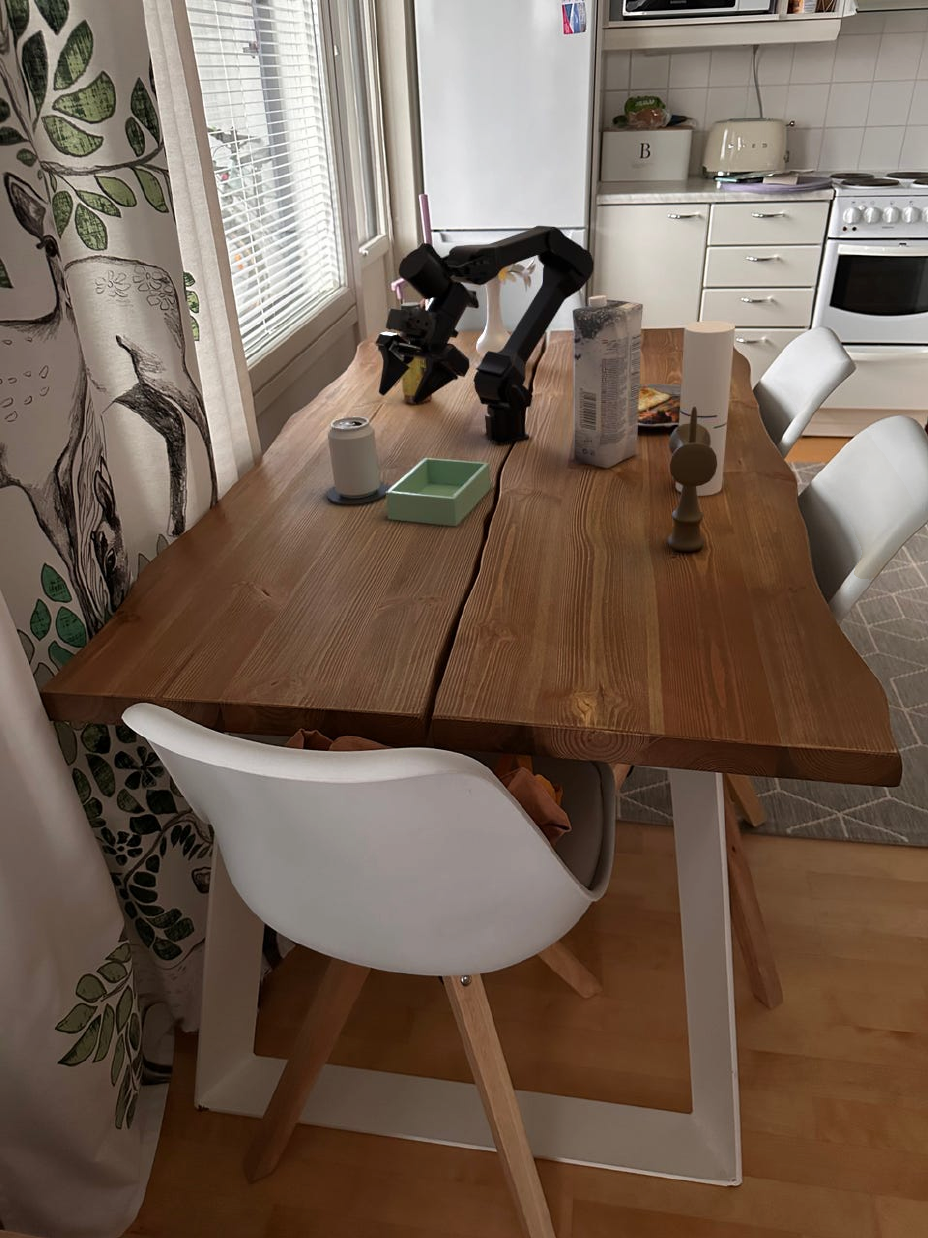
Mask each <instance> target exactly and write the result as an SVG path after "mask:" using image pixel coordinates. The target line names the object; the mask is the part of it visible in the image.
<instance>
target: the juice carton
mask: <svg viewBox="0 0 928 1238" xmlns="http://www.w3.org/2000/svg"><path fill="white" fill-rule="evenodd" d="M643 310H644V304H643V303H638V302H632V301H625V300H615V299H607V295H604V294H603V295H602V294H601V295H594V296H590V297H588V306H584V307H578V308H574V309H572V323H573V456H574V457H573V458H574V460H575V461H576V462H579V463H582V464H583V463H584V464H587V465H592V466H595V467H600V468H603V469H609V468H612V467H613V466H615V465H617V464H618V463H621V462H622V461H625V460H627V459H629V458H631V457H633V456H635V454H636V453H637V445H638V430H639V429H638V427H639V426H638V406H639V385H640V380H641V379H640V377H641V375H640V374H641V349H642V321H643Z"/></svg>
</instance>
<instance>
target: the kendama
mask: <svg viewBox="0 0 928 1238" xmlns="http://www.w3.org/2000/svg"><path fill="white" fill-rule="evenodd" d="M710 444H711V441H710V434H709V432H708V431H707V429H706V428H705V427H703V426H701V425H700V424H697V409H696V407H695V406H694V407H693V408H692V412H691V418H690V423H688V424H682V425H681V426H677V427H675V429H673V431H672V433H671V434H670V436H669V441H668V445H669V446H668V447H669V452H670V453H671V457H670V460H669V472H670V475H671V477H672V478H673V480H674V482H675V483H676V482H678V483H679V484H681V485H683V487H682V491H681V492H680V497H679V500H678V503H677V506H676V508H675V509H674V510H673V511H672V512H671V519H672V520H673V529H672V533H671V534H669V536H668V537H667V544H668V546H669V547H670V548H671V549H673V550H676V551H679V552H694V551H699V550H700V549H701V548H703V547H705V546H704V545H705V539H704V538H703V536H702V534H701V522H702V521H703V520H704V514H703V512H702V510H700V506H699V501H698V496H697V490H696V486H701V485H703V484H705V483H707V482H709V481H710V480H711V479H712V477H713V476H714V475H715V472H716V468H717V457H716V454H715V452H714V451H713V449H712V448H711V447H710Z"/></svg>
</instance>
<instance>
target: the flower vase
mask: <svg viewBox="0 0 928 1238" xmlns="http://www.w3.org/2000/svg"><path fill="white" fill-rule="evenodd" d="M535 259H536V257H533V259H532V260H531V261H530V263H529V264H528V265H527V266H526V267H525V266H524V265H522V264H521V263H520V264H519V263H515V264H512V265H510V266H507V267H505V268H503V269H502V270H500V272H499V274H498V275H497V276H496V277H495V278H493V279H492V280H490V281H489V282H487V283H486V284H484V285H485V290H486V303H487V307H486V308H487V309H486V310H487V315H486V316H487V317H486V325H485V328H484V330H483V333H482V334H481V335H479V336H480V337H479V338H478V339H477V341H476V346H475V349H476V352H477V354H478V355H479V356H480V357H482V358H484V356H485V354H486V353H487V352H488V351H491V352H496V353H497V352H499V351H501V350H502V349H503V348H504V346H505V344H506V343H507V341H508V340H509V338H510V336H511V334H510V333H509V332H507V330H506V328H505V326H504V324H503V323H504V322H503V319H502V309H501V287H502V286H505V284H507V280H509V281H510V282H513V283H516V282H517V278H516V276H518V277H519V278H521V279H522V281H523V285H524V290H525V293H527V291H528V288H529V289H530V288H531V286H532V278H531V276H530V275H532V274H533V273H534V271H535V269H536V265H537V264H536V263H534V262H535ZM514 274H515V275H516V276H515V275H514ZM481 286H482V285H474V287H475V288H476V289H479V288H480V287H481Z"/></svg>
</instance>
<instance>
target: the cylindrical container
mask: <svg viewBox="0 0 928 1238" xmlns="http://www.w3.org/2000/svg"><path fill="white" fill-rule="evenodd" d="M683 330H684V332H683V349H682V365H681V366H682V367H681V369H682V370H681V383H680V385H681V399H680V417H679V426H681V425H682V424H688V423H690V418H691V412H692V408H693V407H694V406H695V407H696V409H697V424H700V425H701V426H703V427H705V428H706V429H707V431H708V432H709V434H710V441H711V444H710V447H711V448H712V449H713V451H714V452H715V454H716V457H717V468H716V472H715V475H714V476H713V477H712V479H711V480H710V481H709V482H707V483H705V484H703V485H701V486H696V490H697V497H704V496H711V495H714V494H717V493H719V492H720V491H722V488H723V478H724V475H723V474H724V466H725V465H724V464H725V452H726V442H727V441H726V440H727V427H728V415H729V403H730V393H731V392H730V391H731V381H732V380H731V379H732V369H733V368H732V367H733V357H734V356H733V354H734V344H735V343H734V342H735V332H736V331H735V330H736V326H735V325H734V324H733V323H731V322H726V321H718V320H704V321H696V322H695V321H694V322H689V323H687V324H686V325H685V326H684V329H683ZM679 426H678V427H679ZM682 487H683V485H681V484H679V483H678V482H676V481H675V489H676V490H677V491H678V492H679V493H681V491H682Z"/></svg>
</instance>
